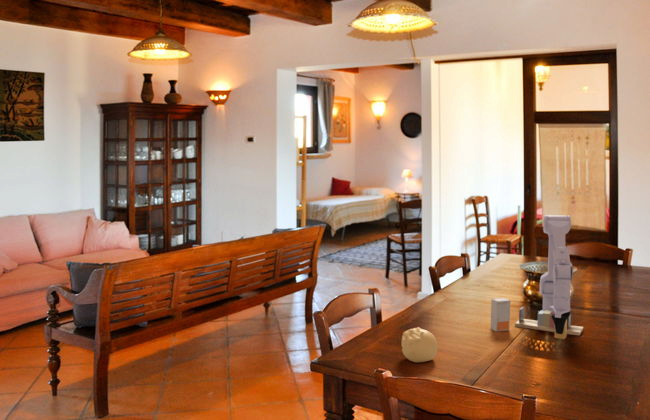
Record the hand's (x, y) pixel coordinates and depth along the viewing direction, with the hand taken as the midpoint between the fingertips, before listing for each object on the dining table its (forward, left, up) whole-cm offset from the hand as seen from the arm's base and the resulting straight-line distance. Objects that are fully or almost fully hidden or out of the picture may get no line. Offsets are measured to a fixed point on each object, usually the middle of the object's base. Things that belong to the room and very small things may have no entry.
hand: (560, 331), depth 235 cm
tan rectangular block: (0, 0, -2) cm, 2 cm away
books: (-9, -4, -1) cm, 10 cm away
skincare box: (+2, -22, -2) cm, 22 cm away
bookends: (-9, -8, -1) cm, 12 cm away
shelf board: (-9, -6, -2) cm, 11 cm away
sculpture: (+48, -37, -2) cm, 61 cm away
